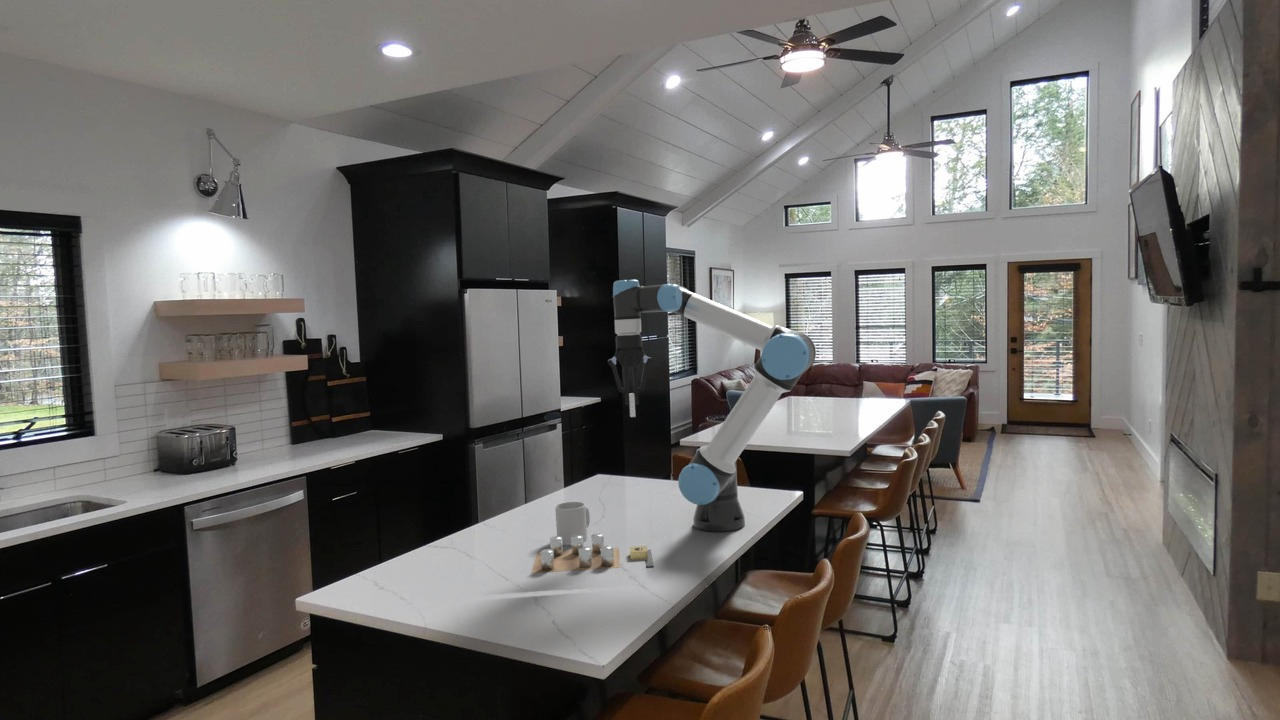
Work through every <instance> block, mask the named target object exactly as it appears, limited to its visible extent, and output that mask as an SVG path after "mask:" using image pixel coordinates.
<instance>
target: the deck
mask: <svg viewBox="0 0 1280 720" xmlns="http://www.w3.org/2000/svg"><path fill="white" fill-rule="evenodd" d="M591 553H592V548H591ZM613 554H614V565H613V566H611V567H603V566H601V553H600V554H594V553H592V567H590V568H580V566H579V555H573V554H572V550H563V555H561V556H554V569H553V570H550V571H543V570H542V567H541V552H537V553H536V555H535V559H534V562H533V566H532V569H531V571H530V574H543V573H557V572H570V571H571V572H573V571H588V570H602V569H616V568H619V569H620V568H621V567H620V566H621V565H620V547H613Z"/></svg>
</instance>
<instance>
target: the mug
mask: <svg viewBox="0 0 1280 720" xmlns="http://www.w3.org/2000/svg"><path fill="white" fill-rule="evenodd" d="M590 521H591V515H590V511H589V508H588V507H587V506H586V504H585V503H584V502H581V501H569V502H568V501H567V502H562V503H559V504H557V505H555V523H556V524H555V525H556V536H561V537H562V544H563V546H571V536H573V535H582V536H583V544H584V543H586V542H588V528H589V525H590Z"/></svg>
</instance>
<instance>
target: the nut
mask: <svg viewBox="0 0 1280 720" xmlns="http://www.w3.org/2000/svg"><path fill="white" fill-rule="evenodd" d="M647 550H648V547H647V545H644V546H643V545H642V546H639V545H638V546H630V547H629V552H630V555H629V556H630V560H631V561H632V560H636V561H637V560H644V562H645V561H648V551H647Z"/></svg>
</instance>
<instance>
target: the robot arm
mask: <svg viewBox="0 0 1280 720" xmlns="http://www.w3.org/2000/svg"><path fill="white" fill-rule="evenodd" d="M612 285H613V286H612V298H613V312H614V315H613V316H614V334H616V336H615V353H614V356H613V357H612V358H609V359H608V360H607V363H608V365H609V366H610V368H611V369H612V374H613V377H614V381H615V383H616V386H617V390H618V392H619V393H622V394H624V400H625V406H629V417H630V418H636V405H637V406H639V403H640V401H639V399H640V398H639V393H641V392H644V391H645V388H646V382H647V378H648V377H647V376H648V372H649V367H650V366H651V363H652V362H653V358H652V357H649V356H647V355H646V354H645V352H644V348H643V336H642V335H641V334H640V333H642V320H641V319H642V317H641V315H642V314H643V313H644V314H645V313H660V312H662V313H665V312H666V313H670V312H672V313H675V314H677V315H679V316H681V317H684V318H686V319H689V320H691V321H694V322H696V323H698V324H700V325H703V326H704V327H707V328H709V329H712V330H713V331H715V332H719V333H720V334H722V335H725V336H727V337H730V338H731V339H733V340H736V341H739V342H741V343H743V344H745V345H747V346H750V347H752V348H755V349H757V350H759V351H761V355H760V357H759V359H758V360H757V361H756V363H755V365H753V369H754V371H753V372H754V376H753V377H752V379H751V381H750V382H749V383H748V385H747V387H746V388H745V389H744V391H743V393H742V394H741V395H740V397H739V399H738V400H737V402H736V403H735V405H734V406H733V408H732V409H731V411H730V412H729V414H727V417H726V418H725V420H724V421H723V422H722V424H721V425H720V427H719V429H718V430H717V432H716V433H715V435H714V436H713V438H712V439H711V441H710V442H709V443H708V444H707V445H701V446H700V447H699V448H697V449H696V453H695V455H694V456H693V457H692V458H691V460H690V462H689V463H688V465H685V467H683V468H682V470H681V472H680V473H679V475H678V481H677V482H678V489H679V492H680V493H681V495H682V496H683V497H684V499H686V500H687V501H688V502H690V503H691V504H694V505H696V508H695V512H694V514H693V519H692V520H693V527H694V528H696V529H697V530H700V531H706V532H715V533H716V532H720V533H722V532H730V531H735V530H739V529H741V528H744V526H745V525H746V524H745V523H746V520H745V519H746V518H745V515H744V512H743V509H742V507H741V504H740V502H739V497H738V494H739V493H738V477H737V476H738V474H737V473H738V471H737V470H738V469H737V461H738V458H739V457H740V456H741V454H742V452H743V451H745V448H746V447H747V445H748V443H749V442H750V441H751V440H752V437H753V436H755V434H756V432H757V430H759V427H761V425H762V423H763V421H764V420H765V419H766V418H767V416H768V414H769V413H770V412H771V411H772V408H773V407H774V406H775V404H776V402H777V401H778V399H780V398H781V395H782V394H783V393H788V392H791V391H792V389H793V388H794V387H795V386H796V384H797V383H798V381H799V380H800V378H801V377H802V375H803V374H804V373H805V372H806V371H808V370H809V369H810V368H811V367H812V366H813V364H814V362H815V360H816V355H817V350H816V346H815V343H814V341H813V340H812V338H811V337H809V335H807V334H805V333H803V332H800V331H796V330H793V329H790V328H786V327H784V326H781V325H779V324H776V325H774V326H773V325H769V324H768V323H765V322H762V321H760V320H759V319H756V318H753V317H752V316H748V315H747V314H744V313H742V312H740V311H737V310H735V309H733V308H730V307H728V306H725V305H723V304H721V303H718V302H716V301H713V300H711V299H708V298H707V297H704V296H702V295H700V294H697V293H695V292H692V291H690V290H688V288H686V287H684V286H681V285H679V284H675V283H674V284H673V283H672V284H671V283H663V284H655V285H640V282H639V280H638V279H622V280H621V279H620V280H615V281H614V282H613V284H612ZM641 313H642V314H641ZM642 360H643V363H644V364H643V370H642V375H641V381H640V384H638V383H639V382H638V381H639V379H638V365H640V363H641V361H642ZM617 361H618V363H619V364H620V365H621V366H622V367H623V381H624V382H623V383H624V388H623V386H622V382H621V380H620V376H619V373H618V368H617V366H616V365H617ZM630 367H632V380H633V381H632V383H633V392H631V393H630V384H629V383H630V382H629V378H630V377H629V368H630ZM639 385H640V386H639Z"/></svg>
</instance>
